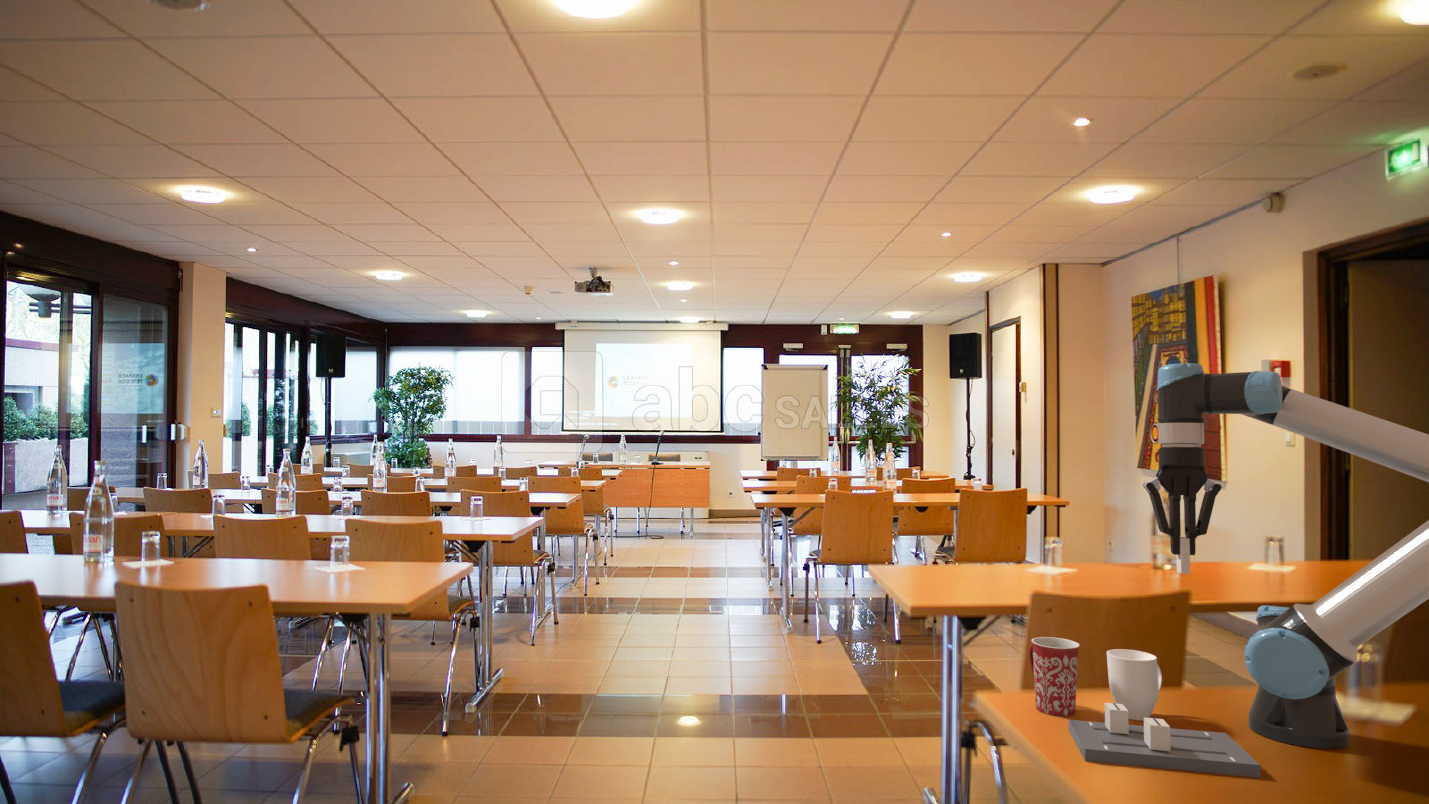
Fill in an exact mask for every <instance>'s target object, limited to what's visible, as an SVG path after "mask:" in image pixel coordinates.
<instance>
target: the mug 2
mask: <svg viewBox="0 0 1429 804" xmlns="http://www.w3.org/2000/svg"><path fill="white" fill-rule="evenodd" d="M1106 662H1107V664H1106V665H1107V674H1108V684H1109V686H1108V687H1109V691H1110V693H1111V696H1112V699H1113V701H1114V703H1115V704H1123V705H1124V706H1125V708H1126V709H1127V710H1128V718H1129V720H1131V721H1132V720H1133V721H1144V718H1151V715H1152V713H1153V710H1154V708H1155V705H1156V704H1157V701H1158V699H1159V693H1160V690H1161V688H1162V682H1163V681H1162V680H1163V677H1162V670H1161V668H1160V666H1159V664H1158V657H1157V656H1156V655H1154V654H1153V653H1152V654H1151V653H1149V652H1145V651H1141V650H1136V649H1124V648H1123V649H1122V648H1119V649H1118V648H1116V649H1108V650H1107V651H1106Z"/></svg>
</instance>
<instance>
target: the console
mask: <svg viewBox="0 0 1429 804" xmlns="http://www.w3.org/2000/svg"><path fill="white" fill-rule="evenodd" d="M1068 732H1069V734H1070V736H1071V737H1072V739H1073V740H1074V742H1075V745H1076V747H1077V748H1078V750H1079V752H1080V753H1081V756H1082V757H1083V759H1084V761H1085V762H1089V763H1090V762H1091V763H1092V762H1093V763H1103V764H1113V765H1123V766H1133V767H1135V766H1136V767H1145V768H1154V769H1155V768H1156V769H1163V770H1166V769H1167V770H1173V771H1175V770H1176V771H1177V770H1178V771H1184V772H1185V771H1186V772H1187V771H1188V772H1196V773H1206V774H1207V773H1208V774H1217V775H1226V776H1227V775H1228V776H1237V777H1238V776H1239V777H1248V778H1258V779H1261V778H1262V770H1261V764H1260V763H1259V762H1258V761H1257V760H1256V759H1255V758H1254V757H1253V756H1251V755H1250V754H1249V753H1248V752H1247V751H1246V750H1245V749H1244V748H1243V747H1242V746H1241V745H1239V744H1238V743H1237V742H1236V741H1235V740H1234V739H1233V738H1232V737H1231V736H1229V734H1227V733H1226V732H1220V731H1218V732H1217V731H1216V732H1215V731H1205V730H1195V729H1194V730H1193V729H1181V728H1171V727H1170V751H1161V750H1151V749H1150V748H1149V747H1148V746H1147V744H1146V743H1145V742H1144V725H1137V724H1136V725H1134V724H1129V734H1121V733H1110V732H1109V730H1108V729H1107V727H1106V726H1105V722H1101V721H1100V722H1099V721H1088V720H1087V721H1086V720H1078V719H1076V720H1075V719H1068Z"/></svg>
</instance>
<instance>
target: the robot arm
mask: <svg viewBox="0 0 1429 804" xmlns="http://www.w3.org/2000/svg"><path fill="white" fill-rule="evenodd" d="M1156 395H1157V426H1158V427H1157V429H1158V430H1157V431H1158V432H1157V433H1158V435H1157V436H1158V437H1157V441H1158V444H1159V445H1161V447H1159V448H1158V450H1157V452H1158V469H1157V473H1156V474H1155V478H1153V479H1151V480H1150V481H1148V482H1147V481H1146V482H1144V483H1143V488H1144V489H1145V491H1146V492H1147V493H1148V495H1149V498H1150V499H1149V500H1150V502H1151V506H1152V510H1153V513H1154V516H1155V520H1156V524H1157V527H1158V530H1159V532H1160V533H1163V534H1166V535H1167V536H1169V538H1170V552H1171V554H1172V555H1176V572H1177V573H1179V574H1183V575H1185V574H1186V575H1187V574H1188V575H1191V556H1195V555H1196V539H1197V538H1198V537H1200V536H1205V535H1206V534H1207V533H1208V530H1209V525H1210V521H1211V517H1212V513H1213V510H1214V505H1215V501H1216V496H1217V495H1218V494H1219V493H1220V491H1222V485H1221V484H1220V483H1217V482H1214V481H1212V480H1211V479H1209V477H1208V476H1209V475H1208V473H1207V472H1206V470H1205V468H1206V467H1205V466H1206V465H1205V461H1206V460H1205V459H1206V458H1205V449H1204V448H1203V447H1201V446H1202V445H1204V444H1205V427H1204V426H1205V425H1204V423H1205V420H1204V418H1205V417H1204V416H1205V415H1218V414H1219V415H1242V416H1246V417H1248V418H1252V419H1255V420H1257V421H1260V422H1263V423H1266V424H1268V425H1271V426H1273V427H1277V428H1280V429H1282V430H1285V431H1288V432H1291V433H1294V434H1296V435H1299V436H1302V437H1304V438H1308V439H1310V440H1312V441H1315V442H1318V443H1321V444H1323V445H1325V446H1329V447H1331V448H1334V449H1337V450H1340V451H1342V452H1345V453H1348V454H1350V455H1353V456H1355V457H1359V458H1362V459H1365V460H1367V461H1370V462H1372V463H1375V464H1378V465H1380V466H1383V467H1387V468H1389V469H1392V470H1394V471H1397V472H1401V473H1403V474H1404V475H1405V474H1406V475H1408V476H1411V477H1413V478H1416V479H1419V480H1421V481H1425V482H1427V483H1429V434H1427V433H1424V432H1422V431H1419V430H1417V429H1412V428H1409V427H1408V426H1404V425H1401V424H1398V423H1395V422H1392V421H1390V420H1389V421H1388V420H1386V419H1383V418H1379V417H1377V416H1374V415H1371V414H1368V413H1366V412H1362V411H1359V410H1356V409H1354V408H1351V407H1347V406H1344V405H1341V404H1338V403H1336V402H1333V401H1329V400H1326V399H1323V398H1320V397H1318V396H1314V395H1311V394H1308V393H1305V392H1303V391H1299V390H1296V389H1292V388H1290V387H1287V386H1285V385H1283V384H1282V379H1281V375H1280V374H1279V373H1278V372H1276V371H1260V370H1253V371H1244V372H1225V373H1224V372H1223V373H1205V371H1204V368H1203V366H1202V364H1200V363H1195V362H1194V363H1193V362H1192V363H1191V362H1190V363H1183V362H1182V363H1169V364H1165V365H1161V367H1159V369H1158V371H1157V386H1156ZM1160 485H1161V487H1162V488H1163V490H1165V492H1166V493H1167V497H1168V509H1169V510H1168V511H1169V512H1168V514H1169V516H1168V517H1169V522H1168V519H1167V515H1166V512H1165V511H1166V510H1165V508H1164V504H1163V501H1162V497H1161V494H1160V490H1161V489H1160ZM1202 488H1203V489H1204V491H1205V492H1204V495H1203V498H1202V502H1201V504H1200V509H1199V512H1198V513H1199V514H1198V518H1197V519H1196V517H1197V516H1196V513H1197V511H1196V508H1197V507H1196V501H1197V494H1198V493H1199V491H1200V490H1201V489H1202ZM1182 499H1183V511H1184V515H1183V517H1184V519H1183V520H1184V535H1185V536H1182V534H1181V533H1182V532H1181V529H1182V528H1181V501H1182ZM1427 600H1429V519H1428V520H1427V521H1426V522H1424V523H1423V524H1421V525H1419V526H1418V527H1417V528H1416V529H1414V530H1413V531H1411V532H1410V533H1409V534H1407V535H1406V536H1405V537H1403V538H1402V539H1400V540H1399V541H1397V542H1396V543H1395V544H1394V545H1392V546H1390V547H1389V548H1388V549H1386V550H1385V551H1384V552H1383V553H1381V554H1380V555H1379V556H1376V557H1375V558H1374V559H1373V560H1371V561H1370V562H1369V563H1368V564H1366V565H1364V566H1363V567H1362V568H1361V569H1359V570H1357V571H1356V572H1355V573H1353V574H1352V575H1351V576H1349V577H1348V578H1346V579H1345V580H1344V581H1342V582H1341V583H1340V584H1338V585H1337V586H1335V587H1334V588H1333V589H1332V590H1330V591H1329V592H1327V593H1326V594H1324V595H1323V596H1321V597H1320V598H1319V599H1318V600H1316V601H1315V602H1313V603H1312V604H1304V603H1295V604H1293V605H1292V606H1290V607H1286V606H1285V607H1284V606H1278V605H1277V606H1276V605H1261V606H1259V607H1258V608H1257V612H1256V613H1257V615H1256V617H1255V621H1256V622H1257V629H1256V631H1255V632H1254V633H1253V634H1252V635H1251V636H1250V637H1249V638H1248V640H1247V642H1246V644H1245V647H1244V662H1245V666H1246V669H1247V671H1248V673H1249V675H1250V676H1251V677H1252V679H1253V680H1254V682H1255V683H1256V684H1257V685H1258V688H1257V690H1256V693H1255V696H1254V698H1253V700H1252V704H1251V706H1250V709H1249V712H1248V727H1249V728H1250V729H1251V730H1252V731H1253V732H1255V733H1256V734H1258V735H1261V736H1263V737H1266V738H1269V739H1271V740H1275V741H1279V742H1282V743H1286V744H1291V745H1296V746H1300V747H1301V746H1302V747H1308V748H1316V749H1341V748H1345V747H1347V746H1349V745H1350V731H1349V727H1348V725H1347V722H1346V720H1345V717H1344V714H1343V712H1342V709H1341V708H1340V705H1339V702H1338V699H1337V693H1336V690H1337V689H1336V676H1337V675H1339V674H1340V673H1342V672H1343V671H1345V670H1346V669H1348V668H1349V667H1350V666H1352V665H1353V664H1355V663H1356V662H1358V649H1359V647H1360V646H1362V645H1363V644H1364V643H1366V642H1368V641H1369V640H1370V639H1372V638H1373V637H1375V636H1376V635H1378V634H1379V633H1380V632H1383V630H1385V629H1387V628H1388V627H1390V626H1391V625H1392V624H1394V623H1395V622H1397V621H1398V620H1399V619H1401V618H1402V617H1404V616H1405V615H1407V614H1409V613H1410V612H1412V611H1413V610H1414V609H1416V608H1417V607H1418V606H1421V605H1422V604H1423V603H1424V602H1427Z"/></svg>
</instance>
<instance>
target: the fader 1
mask: <svg viewBox="0 0 1429 804" xmlns="http://www.w3.org/2000/svg"><path fill="white" fill-rule="evenodd" d="M1129 720H1130V719H1129V718H1128V710H1127V709H1126V708H1125V706H1124V705H1123V704H1116V703H1115V702H1113V703H1112V702H1104V723H1105V726H1106V727H1107V729H1108V730H1109V732H1110V733H1121V734H1129V725H1130V724H1129Z"/></svg>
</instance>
